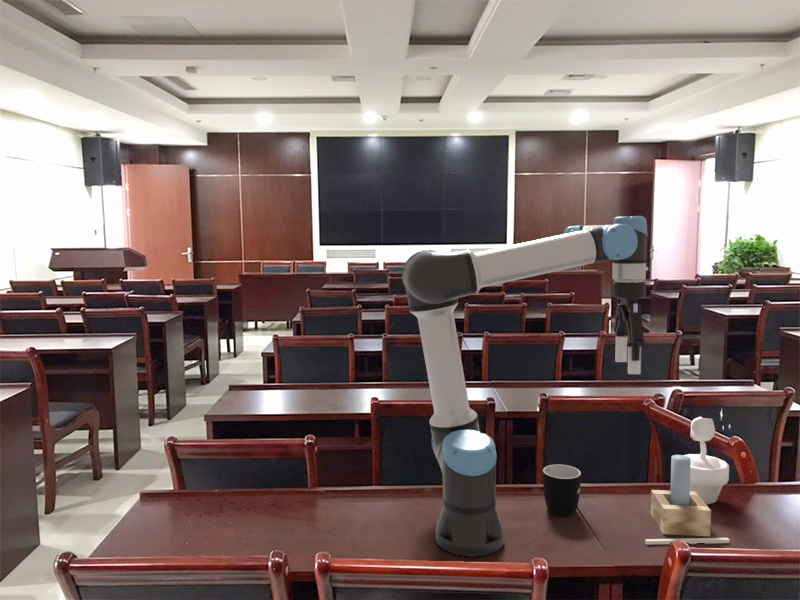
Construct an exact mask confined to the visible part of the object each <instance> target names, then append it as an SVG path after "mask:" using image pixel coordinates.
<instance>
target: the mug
mask: <svg viewBox="0 0 800 600" xmlns="http://www.w3.org/2000/svg"><path fill="white" fill-rule="evenodd" d="M542 482H543V483H542V486H543V496H544V503H545V506H546V509H547V511H548V512H549V513H550V514H551V515H554V516H556V517H562V518H565V517H572V516H573V515H574V514H575V513H576V512H577V509H578V507H579V502H580V501H579V500H580V494H581V487H582V486H581V485H582V483H581V482H582V472H581V471H580V470H579V469H578V468H576V467H574V466H572V465H568V464H550V465H546V466H545V467H544V468H543V469H542Z"/></svg>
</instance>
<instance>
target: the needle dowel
mask: <svg viewBox="0 0 800 600" xmlns="http://www.w3.org/2000/svg"><path fill="white" fill-rule="evenodd" d="M684 455H685V454H684ZM684 455H683V454H674V455H671V456H670V457H671V458H670V459H671V460H670V491H671V493H670V505H683V506H689V500H690V465H691V459H690V458H689V457H687V456H684Z"/></svg>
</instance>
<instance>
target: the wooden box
mask: <svg viewBox="0 0 800 600" xmlns="http://www.w3.org/2000/svg"><path fill="white" fill-rule="evenodd" d="M670 493H671V490H663V489H651V491H650V496H651V497H650V516H651V517H652V518H653V520H654V522H655V523H656V525H657V526H658V528H659V530H660V532H661V533H662V535H675V536H696V537H711V521H712V510H711V508H709V506H708V504H705V503H704V501H703V500H702V499H701V498H700V496H699V495H698V494H697V493H696V492H694V491H690V500H689V506H683V505H670Z"/></svg>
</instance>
